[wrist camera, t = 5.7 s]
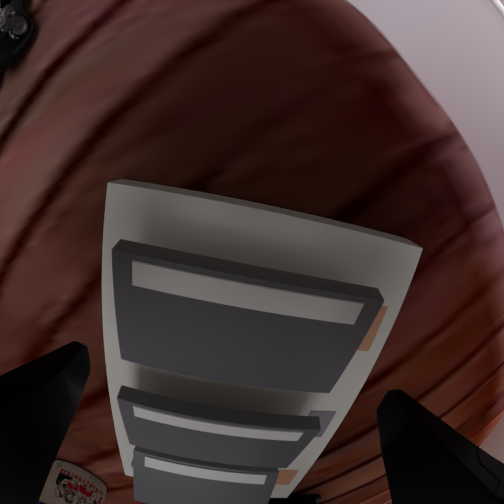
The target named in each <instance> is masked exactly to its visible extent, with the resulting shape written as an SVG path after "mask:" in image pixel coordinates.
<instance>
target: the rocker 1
mask: <svg viewBox="0 0 504 504" xmlns="http://www.w3.org/2000/svg"><path fill="white" fill-rule="evenodd" d="M112 274H113V290H114V303H115V314H116V324H117V332H118V341H119V348H120V355H121V359H123V360H126V361H130V362H134V363H137V364H141V365H145V366H149V367H153V368H157V369H161V370H166V371H170V372H175V373H179V374H184V375H189V376H194V377H199V378H204V379H210V380H215V381H221V382H227V383H234V384H240V385H247V386H255V387H263V388H271V389H280V390H290V391H302V392H316V393H330V392H331V390H332V389H333V387H334V386H335V384H336V383H337V381H338V380H339V378H340V377H341V375H342V373H343V372H344V370H345V369H346V367H347V366H348V364H349V362H350V361H351V359H352V358H353V356H354V354H355V353H356V351H357V349H358V348H359V346H360V344H361V343H362V341H363V339H364V337H365V336H366V334H367V332H368V330H369V329H370V327H371V325H372V323H373V321H374V320H375V318H376V316H377V314H378V312H379V310H380V309H381V307H382V305H383V303H384V299H383V297H382V295H381V293H380V291H379V289H378V288H374V287H369V286H363V285H357V284H352V283H346V282H341V281H335V280H330V279H324V278H319V277H314V276H308V275H303V274H297V273H292V272H287V271H281V270H276V269H271V268H265V267H260V266H255V265H250V264H245V263H239V262H234V261H229V260H224V259H219V258H214V257H208V256H203V255H198V254H193V253H188V252H183V251H178V250H173V249H168V248H163V247H158V246H153V245H148V244H143V243H139V242H134V241H129V240H124V239H120V240H119V241H118V242H117V244H116V245H115V246H114V247H113V248H112Z"/></svg>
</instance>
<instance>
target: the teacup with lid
mask: <svg viewBox="0 0 504 504" xmlns="http://www.w3.org/2000/svg"><path fill="white" fill-rule="evenodd" d="M106 491H107V488H106V486H105V484H104V483H103V482H102V481H101V480H100V479H98V478H97V477H96V476H94V475H93V474H91V473H90V472H88V471H86V470H85V469H83V468H81V467H79V466H77V465H74V464H72V463H69V462H66V461H62V460H56V461H54V463H53V465H52V468H51V470H50V473H49V475H48V478H47V480H46V483H45V485H44V488H43V491H42V493H41V496H40V499H39V501H38V504H103V501H104V498H105V495H106Z"/></svg>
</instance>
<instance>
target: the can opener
mask: <svg viewBox="0 0 504 504" xmlns="http://www.w3.org/2000/svg"><path fill="white" fill-rule="evenodd" d="M33 31H34V23H33V20H32V19H31V18H30V17H29V16H28V15H27V14H26V13H25V11H24V5H23V0H1V7H0V74H1V72H3V71H4V70H5V69H7V68H8V67H9V66H10V65H11V64H12V63H13V62H14V60H15V59H16V58H17V57H18V56H19V54H20V53H21V52H22V50H23V49H24V48H25V46H26V45H27V43H28V42H29V40H30V38H31V36H32V34H33Z"/></svg>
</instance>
